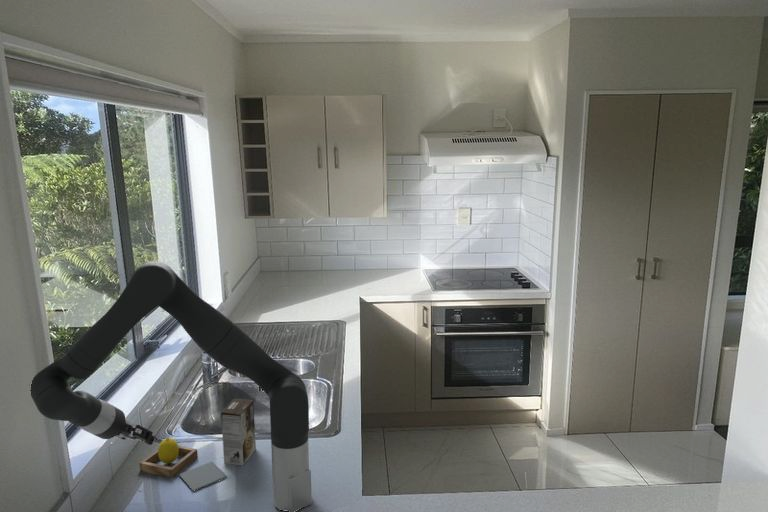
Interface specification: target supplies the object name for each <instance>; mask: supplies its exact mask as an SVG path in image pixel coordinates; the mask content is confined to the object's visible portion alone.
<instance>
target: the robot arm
mask: <svg viewBox="0 0 768 512" xmlns="http://www.w3.org/2000/svg"><path fill="white" fill-rule="evenodd" d="M157 307H159V308H161V309H162V310H163V311H165V312H166V313H168V314H169V315H170V316H171V317H173V318H174V319H175V320H176V321H177V323H179V324H180V326H181V327H182V328H183V330H184V331H185V332H186V333H187V335H188V336H189V337H190V338H191V340H192V341H193V342H194V343H195V344H196V345H197V346H198V347H199V348H200V349H201V351H203V352H205V354H207V355H208V356H209V357H210V358H211V359H213V360H214V362H217V364H219V365H221V366H222V367H223V368H225V369H228V370H230V371H232V372H236V373H237V374H240V375H243V376H245V377H246V378H248V379H250V380H251V381H253V383H255V385H257V386H258V387H259V388H260V389H261V390H262V391H263V392H265V394H266V395H267V396H268V399H269V413H270V414H269V418H270V419H269V420H270V421H269V423H270V445H271V447H270V449H271V467H272V469H271V470H272V492H273V494H272V495H273V505H275V506H274V507H275V508H276V507H277V508H278V509H281V510H288V511H290V512H294V511H296V510H298V509H300V508H303V507H305V508H307V507H308V505H309V506H310V505H312V503H313V499H312V498H313V495H312V493H313V492H312V470H311V469H310V455H309V453H310V452H309V451H310V449H309V431H310V430H309V429H310V417H309V416H310V412H309V410H310V407H309V396H308V392H307V389H306V384H305V383H304V381H303V380H302V378H300V376H299V375H297V374H295V373H294V372H292V371H291V370H290V369H288V368H287V367H285V366H284V365H282V363H281V364H280V363H279V362H278V361H276V359H274V358H272V356H270V355H269V354H268V353H267V352H265V350H264V349H263V348H262V347H261V346H260V345H259V344H258V343H256V341H254V340H253V339H252V338H251V337H250V336H249V335H248V334H247V333H246V332H245V331H243V330H242V329H241V328H240V327H239V326H238V325H237V324H235V323H234V322H233V321H232V320H231V319H229V318H228V317H226V316H225V315H224V314H223V313H221V312H220V311H219V310H218V309H217V308H215V307H214V306H212V305H211V304H210V303H208V302H207V301H205V300H204V299H202V298H201V297H200V296H199V295H197V293H196V292H195V291H193V289H191V288H190V287H189V286H188V285H187V284H186V282H184V281H183V280H182V278H181V277H180V276H179V275H178V274H177V273H176V272H175V271H174V270H173V269H172V268H171V267H170V266H169V265H167V263H165V262H162V261H158V260H157V261H156V260H151V261H150V260H149V261H147V262H146V261H145V262H144V263H143V264H141V265H140V266H138V267H137V268H136V269H135V270H134V272H133V273H132V275H131V276H130V280H129V281H128V283H127V285H126V286H125V288H124V289H123V291H122V292H121V294H120V295H119V297H118V298H117V299H116V300H115V302H114V303H113V304H112V306H111V307H110V308H109V309H108V310H107V311H106V312H105V314H103V316H102V317H101V318H100V319H98V320H97V321H96V322H95V323H94V324H93V325H92V326H91V327H90V328H88V330H86V331H85V333H83V334H82V335H81V336H80V338H78V340H76V342H75V343H74V344H73V345H72V346H71V347H70V348H69V350H67V352H66V353H65V354H64V355H62V356H61V357H59V358H57V359H56V360H54V361H53V362H52V363H50V364H49V365H48V366H46V367H44V368H43V369H41V370H40V371H39V372H38V373H36V374H35V375H34V376H33V378H32V379H33V380H31V381H32V384H31V390H30V391H31V395H30V396H31V399H32V400H33V403H34V404H35V407H36V409H37V410H38V412H39V414H41V415H42V416H44V417H45V418H47V419H49V420H55V421H61V422H69V423H71V424H73V425H75V426H76V427H79V428H80V429H81V430H83V431H84V432H87V433H89V434H92V435H94V436H95V437H97V438H100V439H102V440H110V439H112V438H114V437H117V438H119V439H121V440H126V439H128V440H131V441H135V440H137V441H140V442H142V443H145V444H147V445H150V446H152V445H153V444H154V441H155V439H156V438H155V435H154V432H153V431H151V430H149V429H147V428H146V427H143V426H142V425H139V424H133V423H132V422H131V421H129V420H126V415H125V413H124V411H123V410H121V408H118V407H117V406H114V405H113V404H111V403H109V402H107V401H105V400H103V399H100V398H97V396H94V395H92V394H91V393H89V392H86V391H83V390H75V391H73V388H71V385H69V382H68V381H69V380H70V379H71V378H74V379H78V380H85V379H88V378H90V377H91V375H93V374H94V373H95V371H96V370H97V369H98V368H99V367H100V366H101V365H102V364H103V363H104V362H105V360H106V359H107V358H108V357H109V356H110V355H111V354H112V353H113V351H115V349H116V348H117V347H118V346H119V344H120V343H121V341H122V340H124V338H125V337H126V336H127V334H129V332H130V331H132V329H133V328H134V327H135V326H136V325H137V324H138V323H140V321H142V320H143V319H144V318H145V317H146V316H147V315H149V313H151V312H153V310H155V308H157ZM306 506H307V507H306ZM277 508H276V509H277ZM278 509H277V510H278ZM303 509H304V508H303Z"/></svg>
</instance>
